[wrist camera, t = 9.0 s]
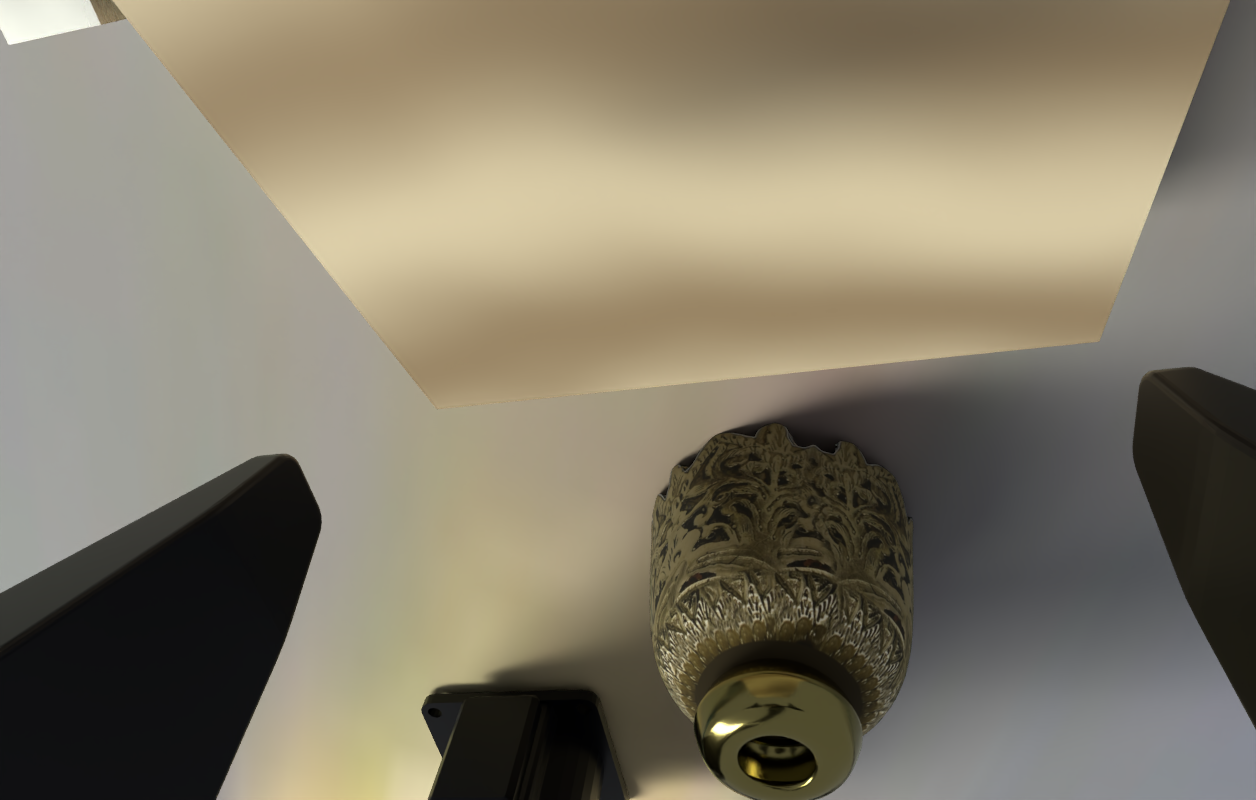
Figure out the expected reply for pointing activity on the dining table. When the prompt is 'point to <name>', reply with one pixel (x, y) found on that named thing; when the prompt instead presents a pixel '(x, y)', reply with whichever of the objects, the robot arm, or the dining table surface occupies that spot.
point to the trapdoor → (699, 173)
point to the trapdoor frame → (53, 17)
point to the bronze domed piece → (781, 607)
